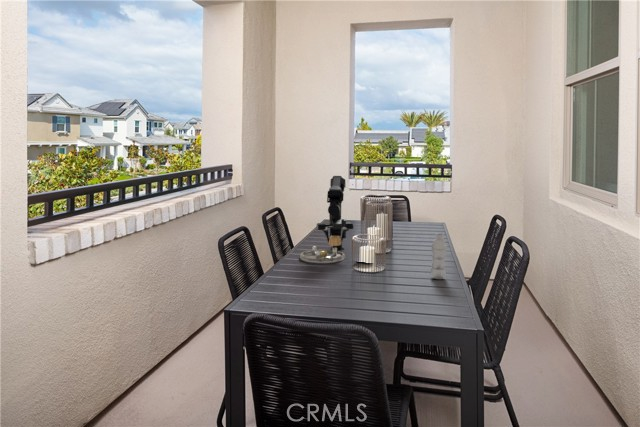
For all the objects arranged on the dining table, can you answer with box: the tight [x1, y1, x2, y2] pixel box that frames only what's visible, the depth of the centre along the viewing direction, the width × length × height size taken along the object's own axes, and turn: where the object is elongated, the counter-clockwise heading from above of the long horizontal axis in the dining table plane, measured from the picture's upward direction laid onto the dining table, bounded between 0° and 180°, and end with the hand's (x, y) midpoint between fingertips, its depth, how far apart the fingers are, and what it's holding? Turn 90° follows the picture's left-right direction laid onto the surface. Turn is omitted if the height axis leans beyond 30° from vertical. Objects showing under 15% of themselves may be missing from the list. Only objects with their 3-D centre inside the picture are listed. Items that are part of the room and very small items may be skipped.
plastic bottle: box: [430, 233, 448, 280], centre depth 213 cm, size 6×7×20 cm
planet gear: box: [327, 235, 341, 246], centre depth 253 cm, size 7×7×4 cm
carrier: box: [299, 245, 346, 265], centre depth 253 cm, size 23×23×5 cm
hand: (334, 242), depth 253 cm, fingers closed on planet gear, 7 cm apart
